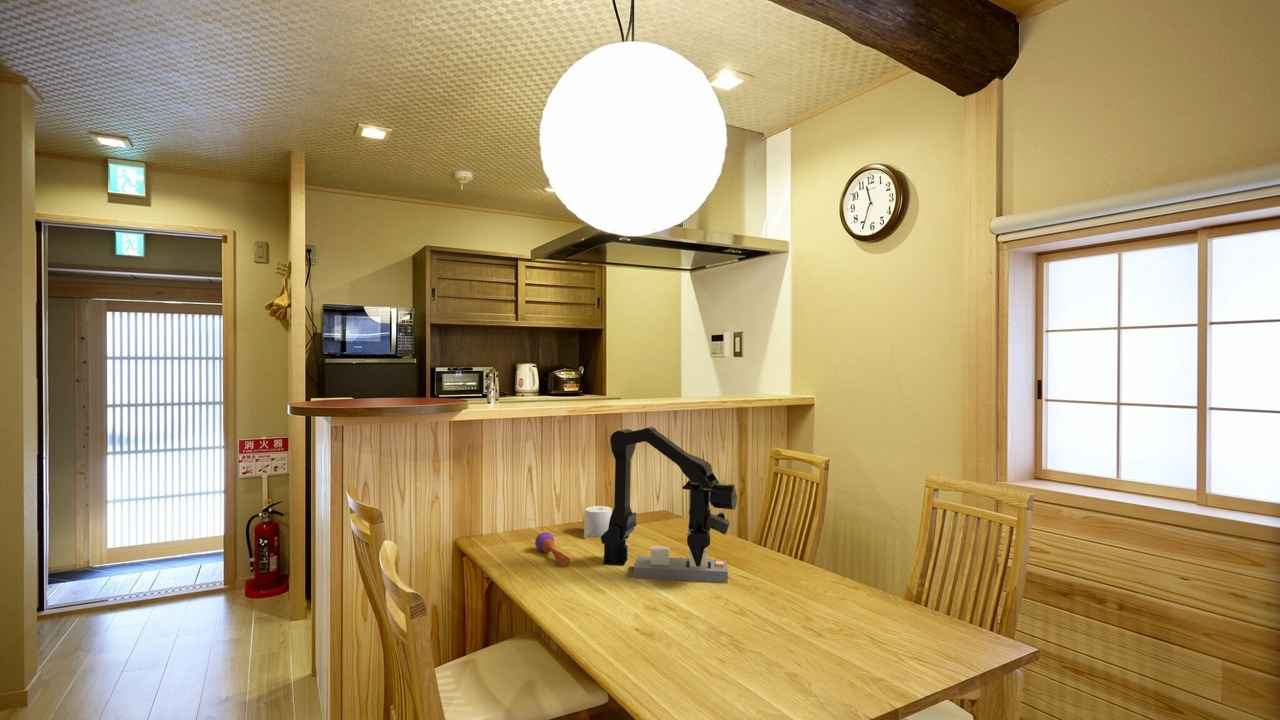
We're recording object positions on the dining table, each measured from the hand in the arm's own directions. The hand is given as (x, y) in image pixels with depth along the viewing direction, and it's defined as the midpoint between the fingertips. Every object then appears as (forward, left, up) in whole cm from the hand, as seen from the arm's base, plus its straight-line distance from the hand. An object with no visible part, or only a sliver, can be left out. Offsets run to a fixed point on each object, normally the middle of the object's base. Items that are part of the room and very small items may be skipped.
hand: (698, 560), depth 176 cm
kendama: (-44, +10, -4) cm, 46 cm away
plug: (0, 0, -4) cm, 4 cm away
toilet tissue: (-36, +36, -4) cm, 51 cm away
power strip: (-5, 0, -4) cm, 6 cm away
